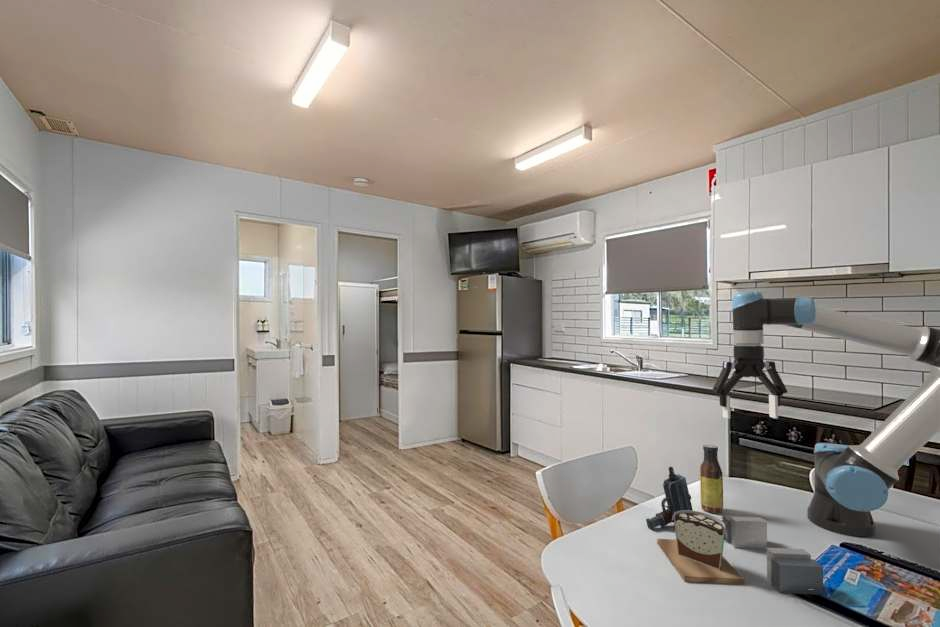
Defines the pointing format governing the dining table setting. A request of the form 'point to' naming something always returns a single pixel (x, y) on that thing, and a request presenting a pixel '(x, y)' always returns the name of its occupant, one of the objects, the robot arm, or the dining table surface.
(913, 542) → the dining table surface
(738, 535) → the grey blocks
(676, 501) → the gun
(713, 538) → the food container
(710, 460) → the sauce bottle
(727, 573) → the light brown board
